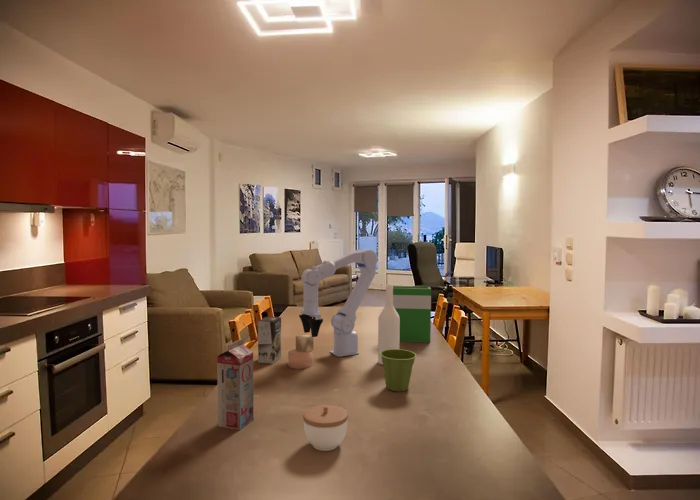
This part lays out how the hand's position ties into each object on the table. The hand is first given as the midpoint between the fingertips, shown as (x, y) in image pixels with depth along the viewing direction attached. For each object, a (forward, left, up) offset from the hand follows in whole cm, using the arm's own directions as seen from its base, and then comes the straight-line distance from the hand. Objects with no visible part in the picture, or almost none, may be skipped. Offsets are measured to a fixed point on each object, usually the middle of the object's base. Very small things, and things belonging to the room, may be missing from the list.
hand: (310, 334), depth 182 cm
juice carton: (+41, +45, -10) cm, 62 cm away
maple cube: (+7, +4, -2) cm, 8 cm away
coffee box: (+15, -5, -10) cm, 18 cm away
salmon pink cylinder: (+7, +6, -10) cm, 13 cm away
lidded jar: (+25, +67, -10) cm, 72 cm away
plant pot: (-12, +43, -10) cm, 46 cm away
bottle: (-24, +19, -10) cm, 32 cm away
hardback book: (-52, -6, -10) cm, 53 cm away
